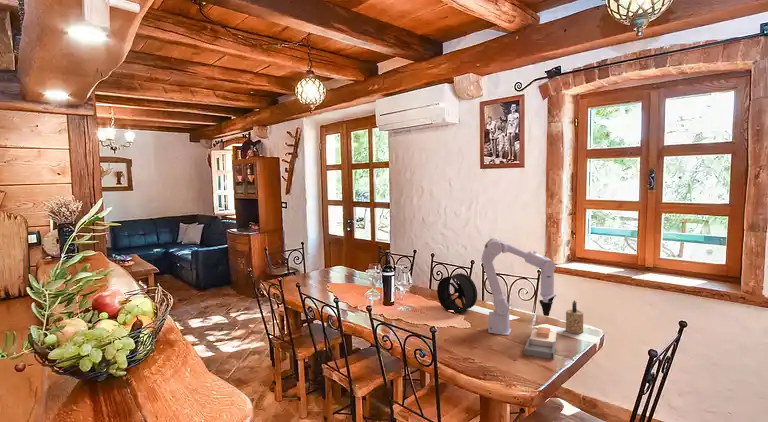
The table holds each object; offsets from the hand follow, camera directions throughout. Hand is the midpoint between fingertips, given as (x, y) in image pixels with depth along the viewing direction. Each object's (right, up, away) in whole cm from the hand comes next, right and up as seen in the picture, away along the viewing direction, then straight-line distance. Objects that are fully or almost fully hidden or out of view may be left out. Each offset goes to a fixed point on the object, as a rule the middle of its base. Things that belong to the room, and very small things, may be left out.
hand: (547, 313), depth 190 cm
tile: (-5, -8, -7) cm, 12 cm away
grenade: (+13, -9, +2) cm, 16 cm away
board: (-5, -10, -8) cm, 14 cm away
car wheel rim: (-36, -8, +35) cm, 51 cm away
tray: (-10, -12, -19) cm, 24 cm away
